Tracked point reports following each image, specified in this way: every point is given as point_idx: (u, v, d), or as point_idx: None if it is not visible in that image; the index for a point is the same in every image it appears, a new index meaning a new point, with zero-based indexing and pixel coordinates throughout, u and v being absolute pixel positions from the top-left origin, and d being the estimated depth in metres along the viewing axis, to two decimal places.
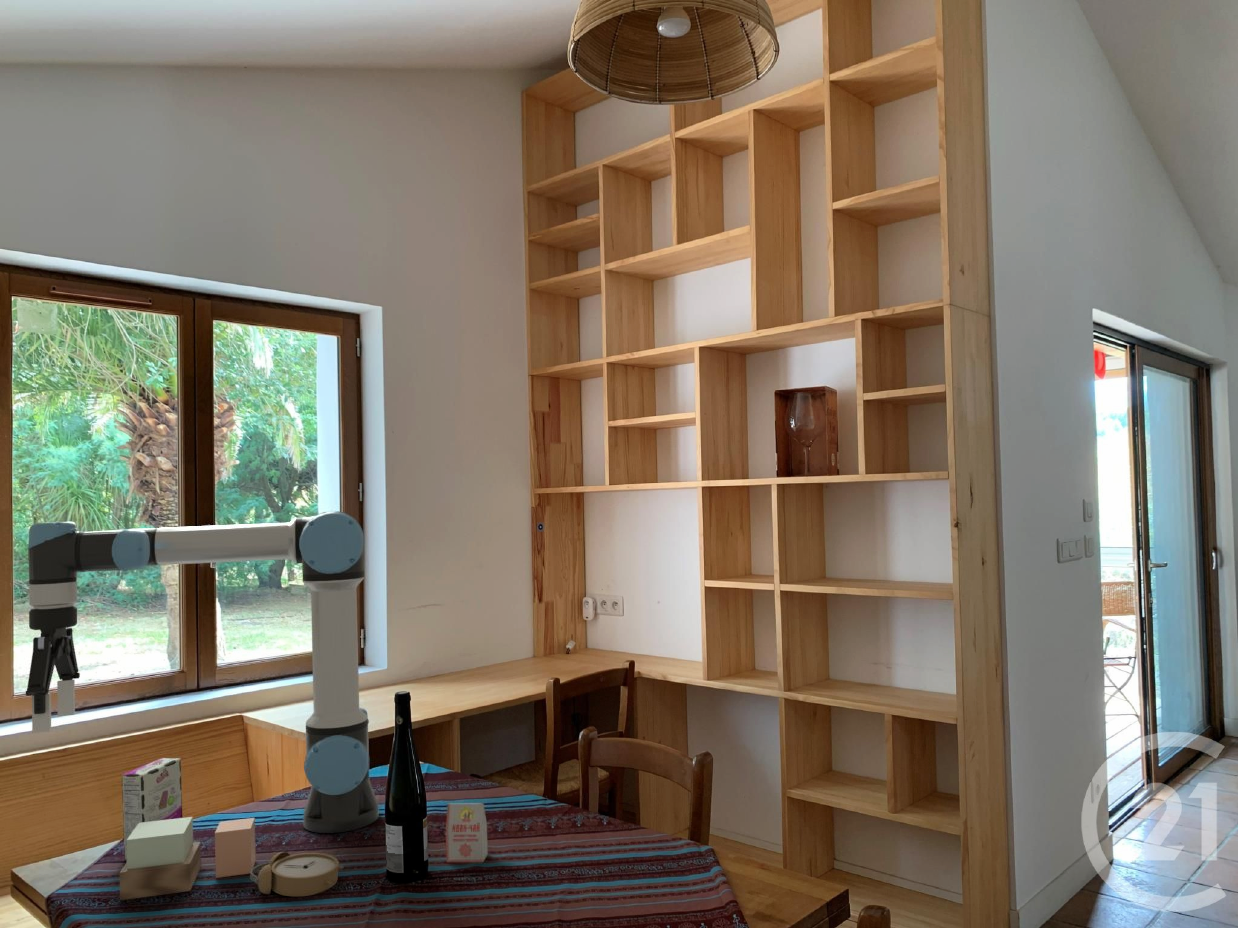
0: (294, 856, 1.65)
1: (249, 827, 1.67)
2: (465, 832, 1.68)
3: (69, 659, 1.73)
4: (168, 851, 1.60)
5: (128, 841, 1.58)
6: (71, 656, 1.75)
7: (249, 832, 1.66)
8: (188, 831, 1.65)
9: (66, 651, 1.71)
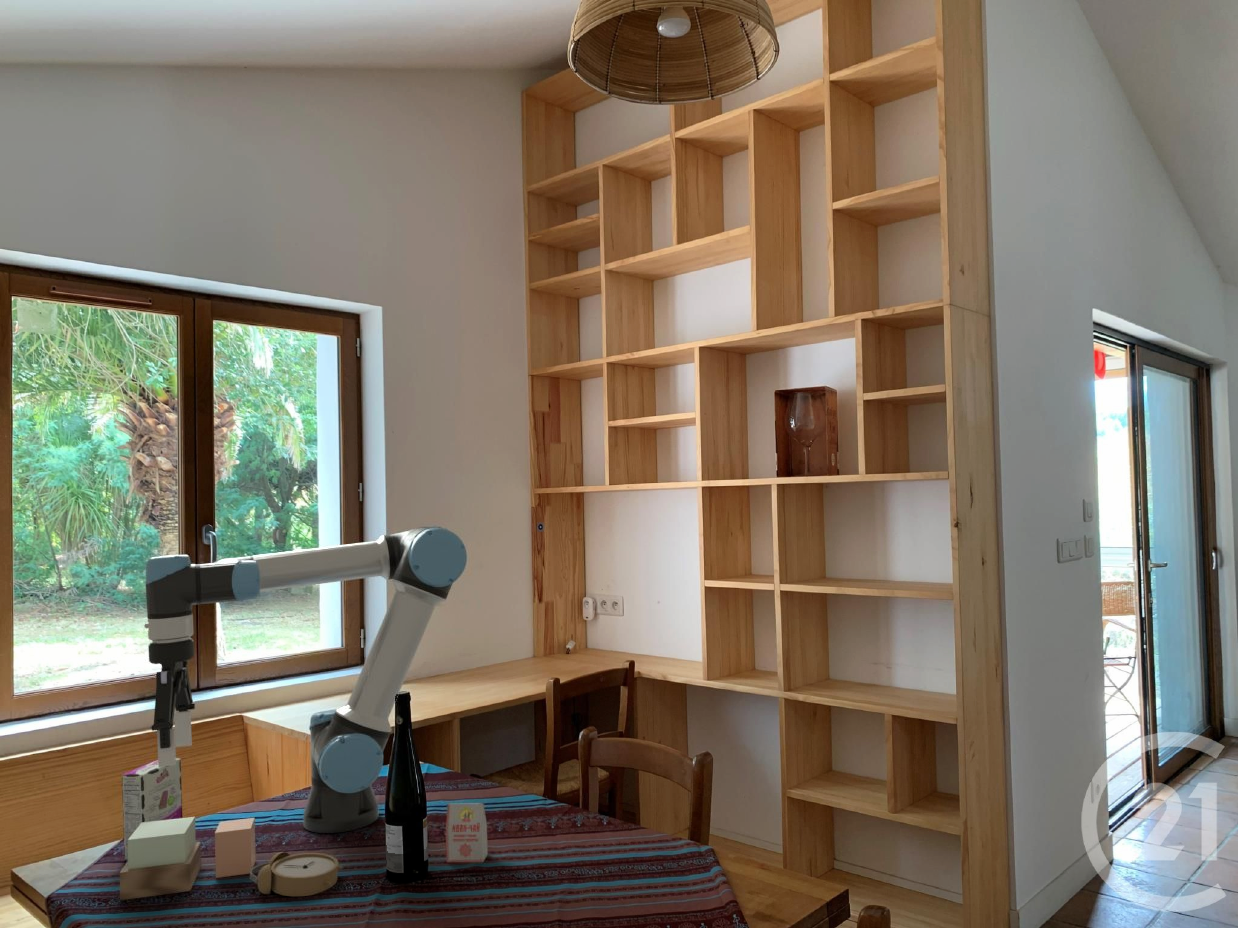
0: (294, 856, 1.65)
1: (249, 827, 1.67)
2: (465, 832, 1.68)
3: (186, 691, 1.74)
4: (169, 851, 1.60)
5: (129, 841, 1.58)
6: (186, 687, 1.76)
7: (249, 832, 1.66)
8: (190, 831, 1.65)
9: (184, 683, 1.72)
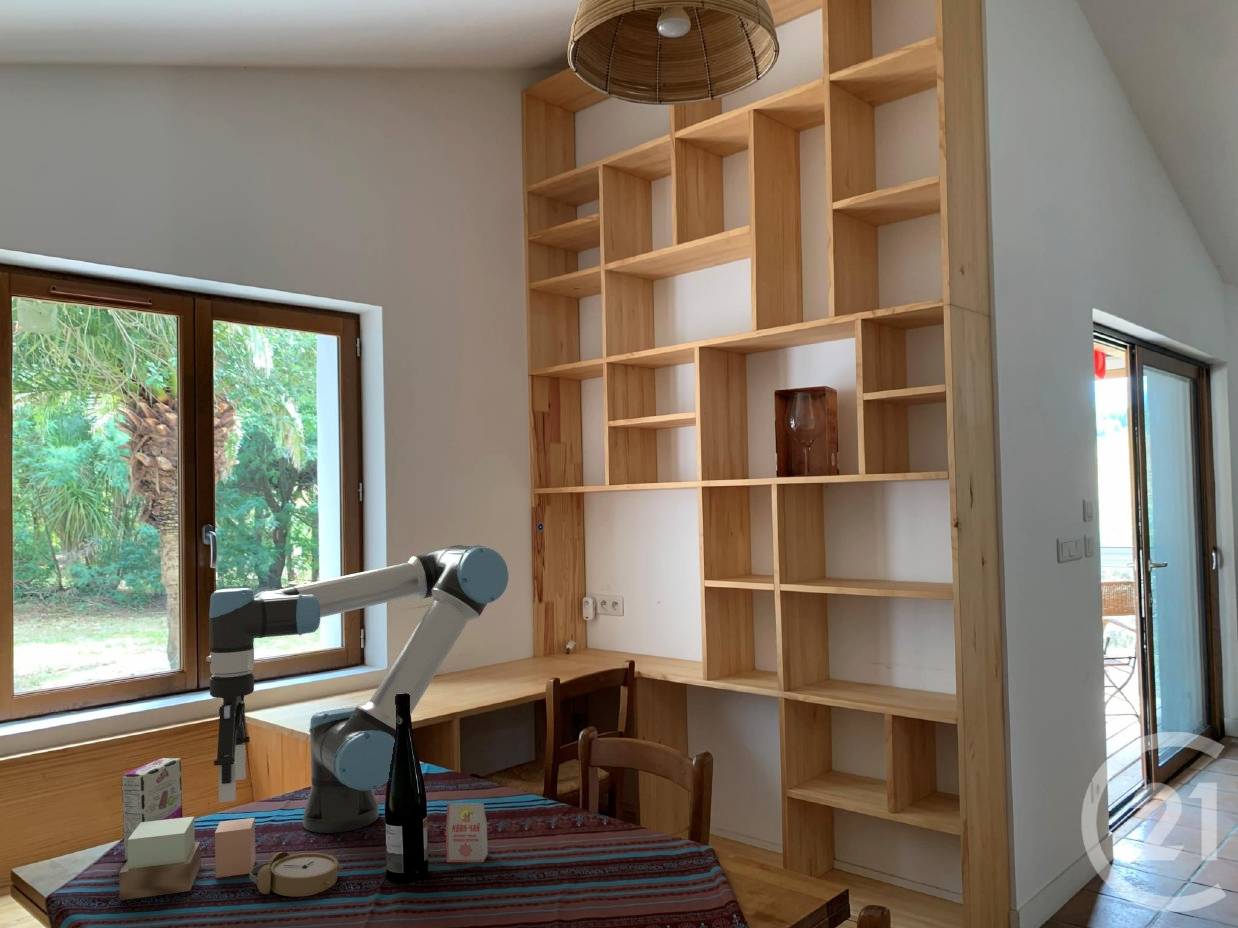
0: (294, 856, 1.65)
1: (249, 827, 1.67)
2: (465, 832, 1.68)
3: (242, 724, 1.74)
4: (169, 851, 1.60)
5: (129, 841, 1.58)
6: (242, 720, 1.76)
7: (249, 832, 1.66)
8: (189, 831, 1.65)
9: (242, 717, 1.72)
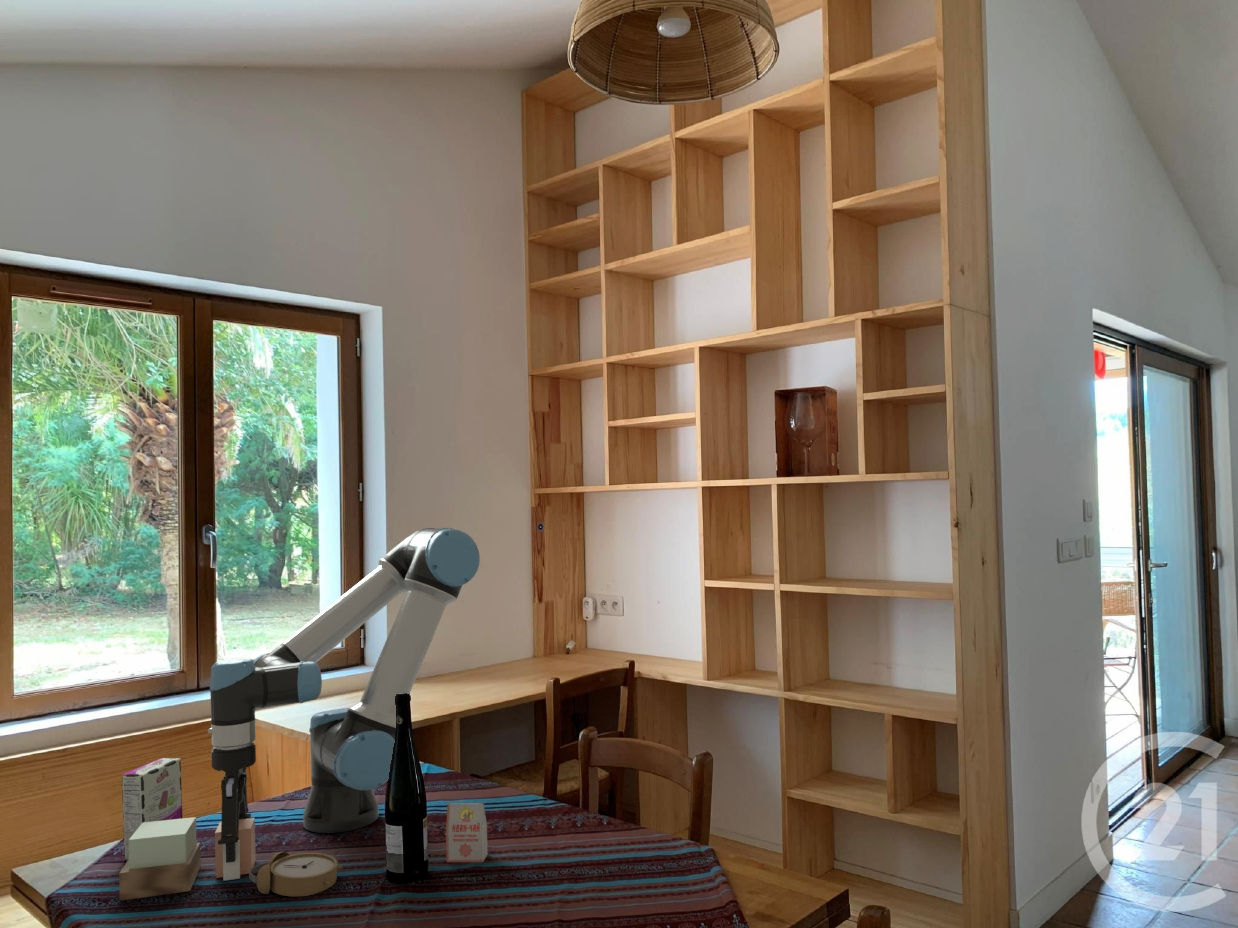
0: (294, 856, 1.65)
1: (249, 827, 1.67)
2: (465, 832, 1.68)
3: (244, 798, 1.73)
4: (170, 851, 1.60)
5: (130, 841, 1.58)
6: (244, 794, 1.75)
7: (249, 832, 1.66)
8: (190, 831, 1.65)
9: (243, 789, 1.71)
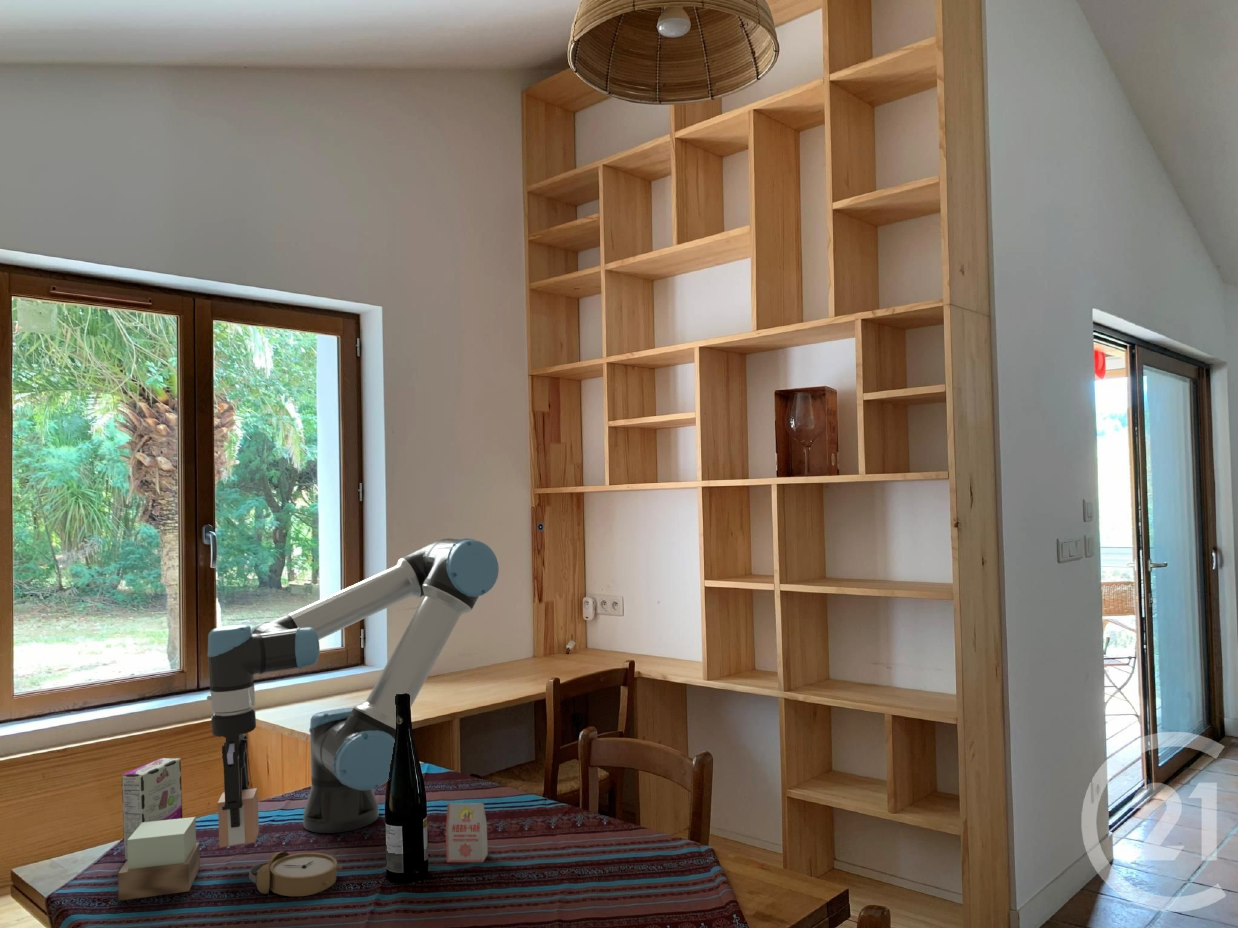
0: (293, 856, 1.65)
1: (251, 797, 1.67)
2: (465, 832, 1.68)
3: (245, 768, 1.72)
4: (169, 851, 1.60)
5: (129, 841, 1.58)
6: None
7: (252, 802, 1.67)
8: (190, 831, 1.65)
9: (244, 756, 1.71)
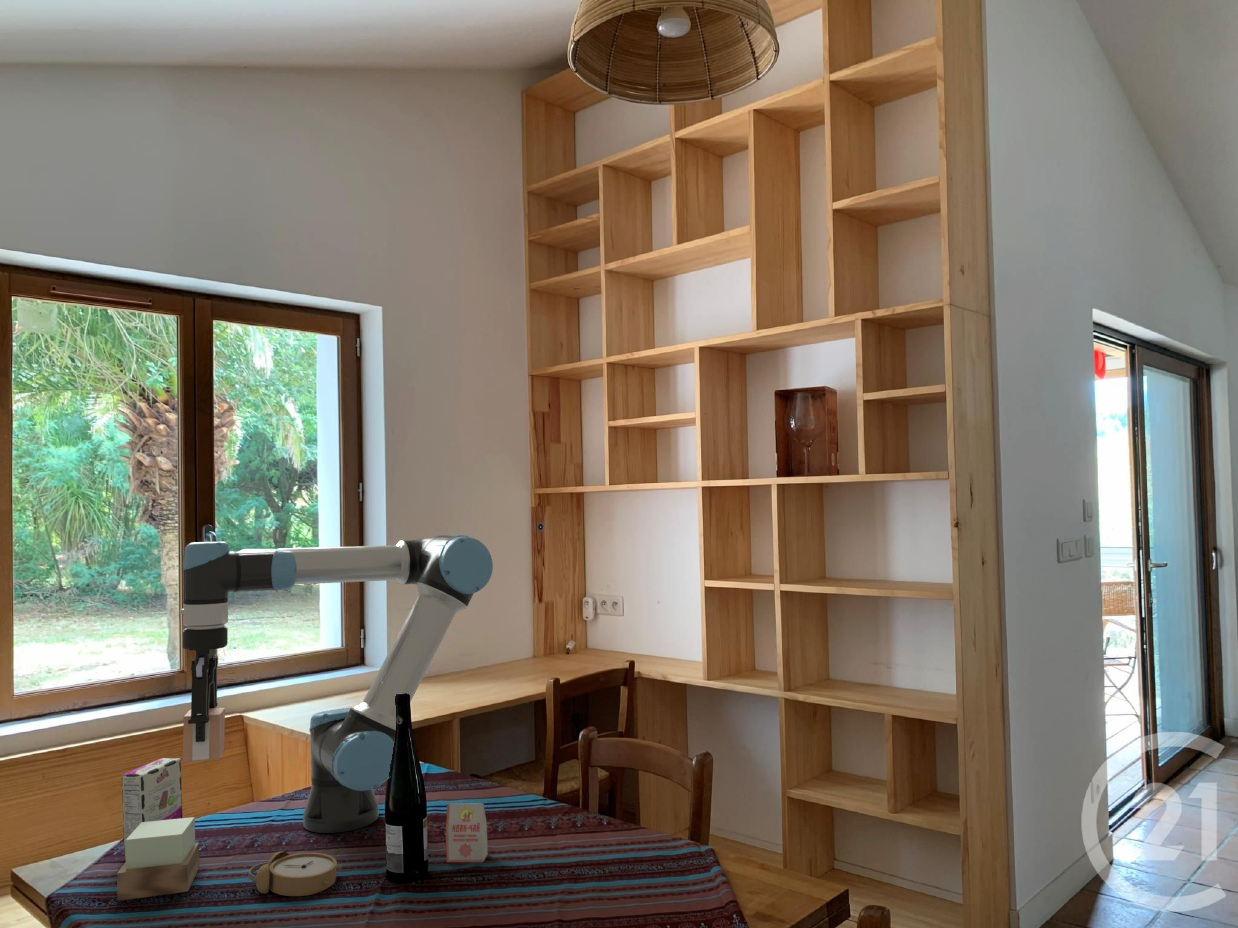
0: (293, 856, 1.65)
1: (218, 713, 1.66)
2: (465, 832, 1.68)
3: (214, 687, 1.71)
4: (167, 852, 1.59)
5: (127, 841, 1.58)
6: (214, 685, 1.73)
7: (218, 718, 1.65)
8: (188, 832, 1.65)
9: (214, 674, 1.69)
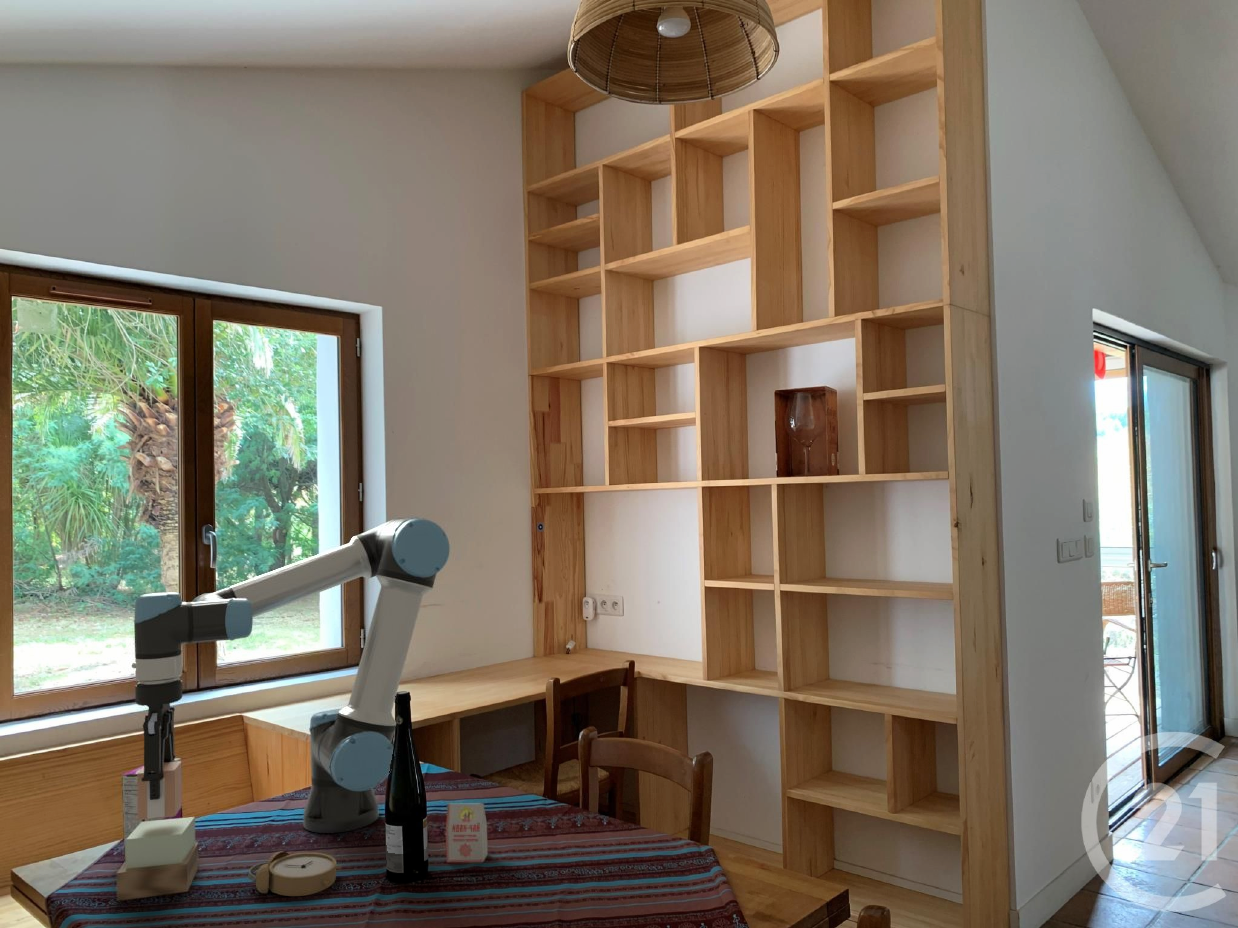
0: (293, 856, 1.65)
1: (173, 769, 1.62)
2: (465, 832, 1.68)
3: (170, 740, 1.67)
4: (167, 851, 1.59)
5: (127, 841, 1.58)
6: (170, 738, 1.69)
7: (173, 774, 1.62)
8: (188, 831, 1.64)
9: (169, 728, 1.66)
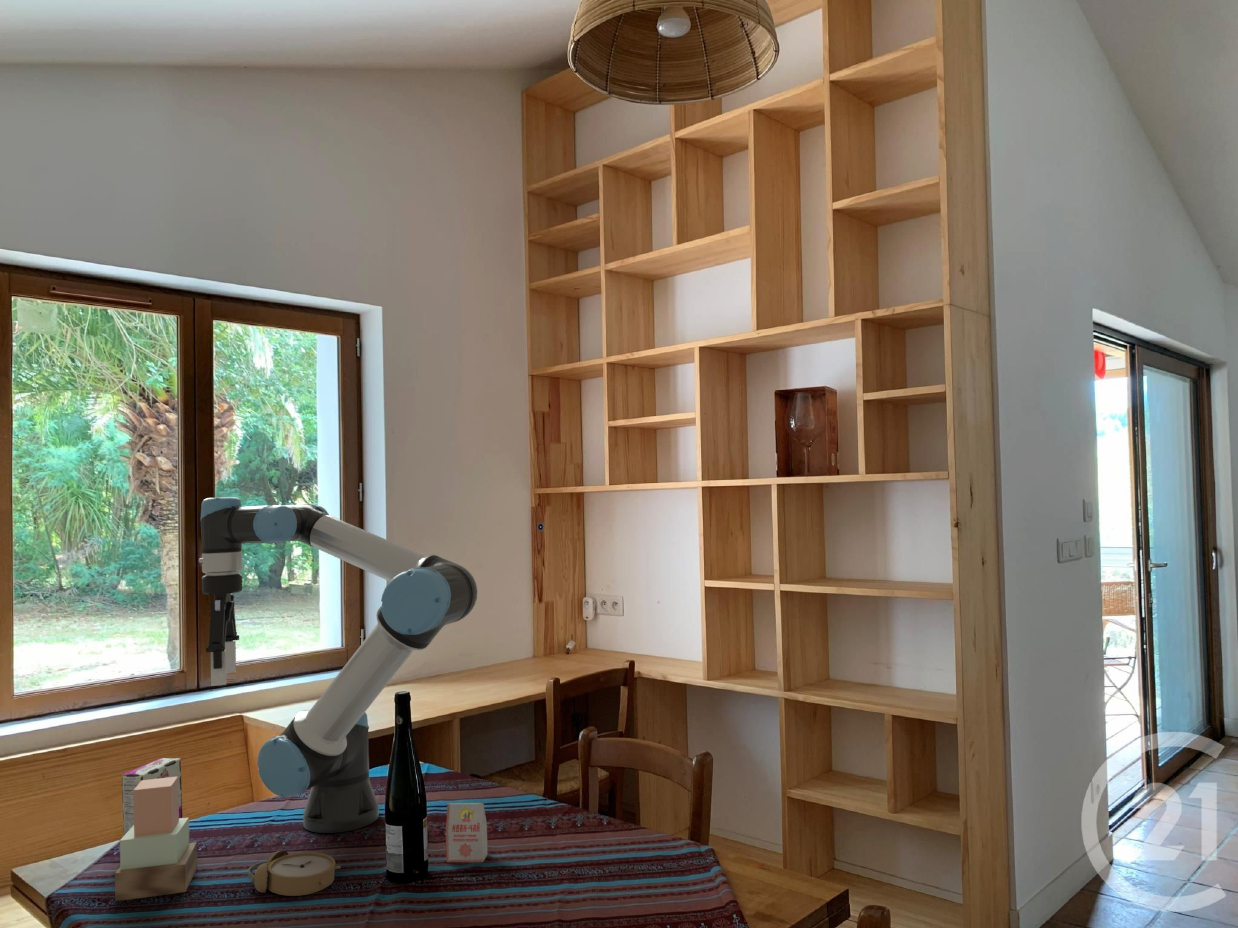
0: (293, 855, 1.65)
1: (170, 785, 1.62)
2: (465, 832, 1.68)
3: (232, 622, 1.91)
4: (161, 852, 1.59)
5: (121, 842, 1.58)
6: (232, 620, 1.93)
7: (169, 790, 1.61)
8: (183, 832, 1.64)
9: (231, 614, 1.89)
